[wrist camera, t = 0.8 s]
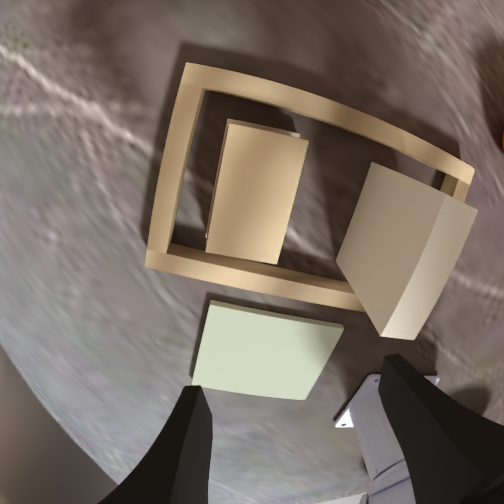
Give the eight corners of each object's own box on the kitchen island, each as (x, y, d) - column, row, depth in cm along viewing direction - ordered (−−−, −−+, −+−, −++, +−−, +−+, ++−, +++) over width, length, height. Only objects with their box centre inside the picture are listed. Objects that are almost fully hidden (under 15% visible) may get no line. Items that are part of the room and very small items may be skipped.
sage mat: (342, 324, 23) (344, 328, 22) (303, 395, 26) (304, 400, 25) (210, 299, 21) (210, 304, 21) (192, 379, 25) (191, 384, 24)
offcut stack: (296, 132, 17) (309, 137, 14) (269, 241, 20) (276, 267, 17) (228, 118, 17) (226, 118, 14) (207, 230, 20) (201, 254, 16)
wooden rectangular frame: (461, 164, 18) (475, 169, 16) (401, 307, 23) (409, 319, 21) (190, 66, 15) (186, 62, 14) (150, 255, 20) (144, 266, 18)
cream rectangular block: (399, 172, 18) (478, 210, 11) (362, 267, 21) (414, 340, 14) (371, 161, 18) (446, 194, 11) (335, 261, 21) (380, 336, 13)
